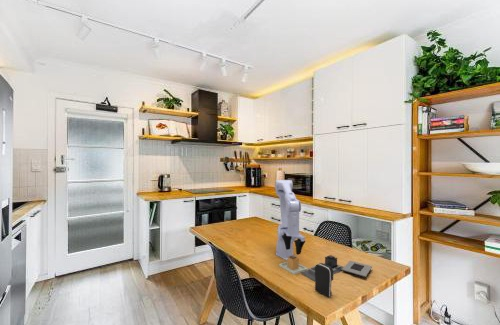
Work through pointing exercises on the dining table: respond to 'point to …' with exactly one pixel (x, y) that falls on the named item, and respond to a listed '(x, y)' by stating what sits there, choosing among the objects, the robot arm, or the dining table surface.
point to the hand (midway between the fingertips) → (293, 251)
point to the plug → (293, 262)
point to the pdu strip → (311, 276)
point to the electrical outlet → (357, 268)
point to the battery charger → (323, 279)
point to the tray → (300, 269)
